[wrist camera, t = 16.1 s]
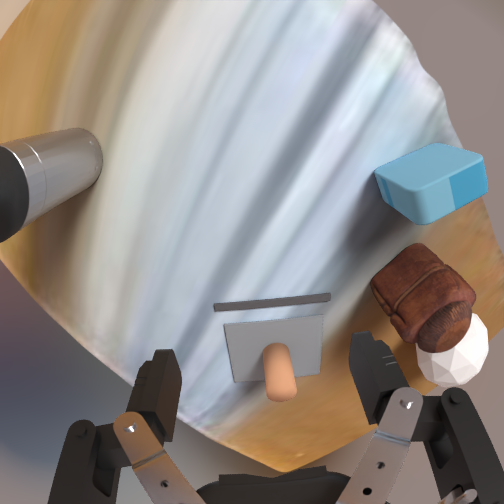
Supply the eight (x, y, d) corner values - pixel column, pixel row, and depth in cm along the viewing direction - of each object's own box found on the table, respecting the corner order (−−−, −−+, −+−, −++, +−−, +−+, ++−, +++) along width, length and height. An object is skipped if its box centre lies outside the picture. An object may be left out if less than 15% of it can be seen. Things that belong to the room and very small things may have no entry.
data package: (379, 199, 41) (421, 229, 30) (369, 170, 40) (411, 192, 29) (443, 169, 39) (493, 190, 28) (435, 141, 37) (487, 155, 27)
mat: (229, 380, 55) (229, 382, 55) (214, 303, 48) (214, 305, 47) (324, 371, 55) (324, 373, 55) (330, 292, 47) (330, 294, 47)
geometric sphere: (433, 319, 58) (455, 381, 50) (390, 334, 52) (414, 407, 44) (481, 288, 46) (508, 357, 39) (446, 300, 40) (477, 387, 33)
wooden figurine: (382, 302, 49) (427, 378, 32) (363, 280, 47) (410, 358, 30) (434, 257, 45) (496, 319, 29) (418, 231, 43) (487, 291, 27)
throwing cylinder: (263, 362, 53) (266, 402, 44) (262, 343, 51) (266, 385, 42) (289, 360, 53) (296, 400, 44) (289, 341, 51) (297, 382, 43)
